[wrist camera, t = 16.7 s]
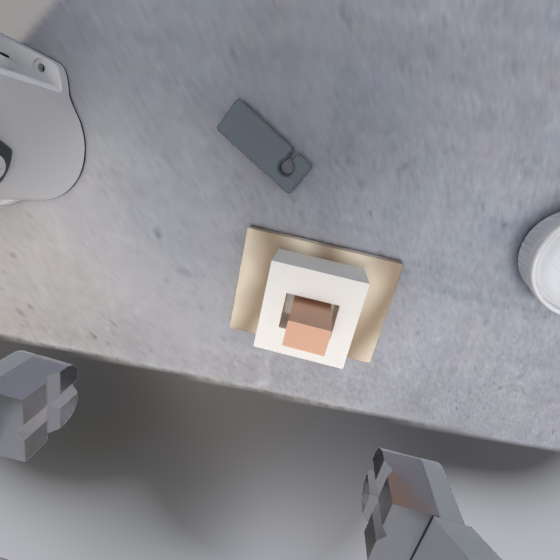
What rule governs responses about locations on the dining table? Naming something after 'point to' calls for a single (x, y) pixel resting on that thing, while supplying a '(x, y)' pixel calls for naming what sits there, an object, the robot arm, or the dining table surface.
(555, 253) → the ramekin
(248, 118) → the bracket
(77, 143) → the robot arm
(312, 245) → the base board
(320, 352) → the block
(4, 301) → the dining table surface
